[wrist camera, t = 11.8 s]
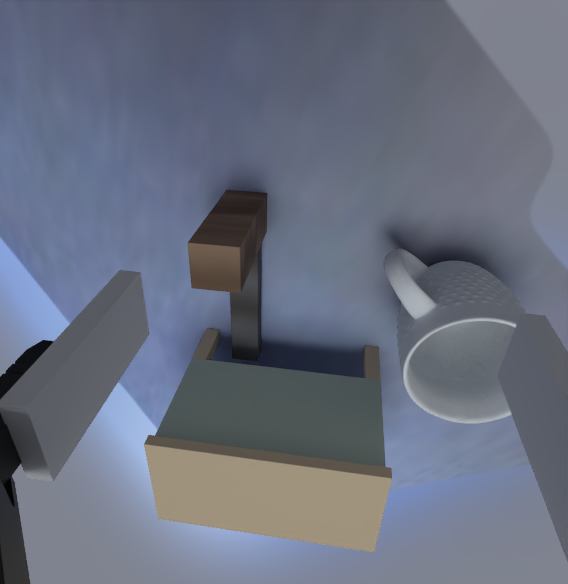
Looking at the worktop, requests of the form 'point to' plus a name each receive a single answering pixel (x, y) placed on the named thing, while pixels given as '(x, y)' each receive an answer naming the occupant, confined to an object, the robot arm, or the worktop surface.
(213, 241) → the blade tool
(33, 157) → the worktop surface
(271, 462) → the cabinet
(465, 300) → the mug
